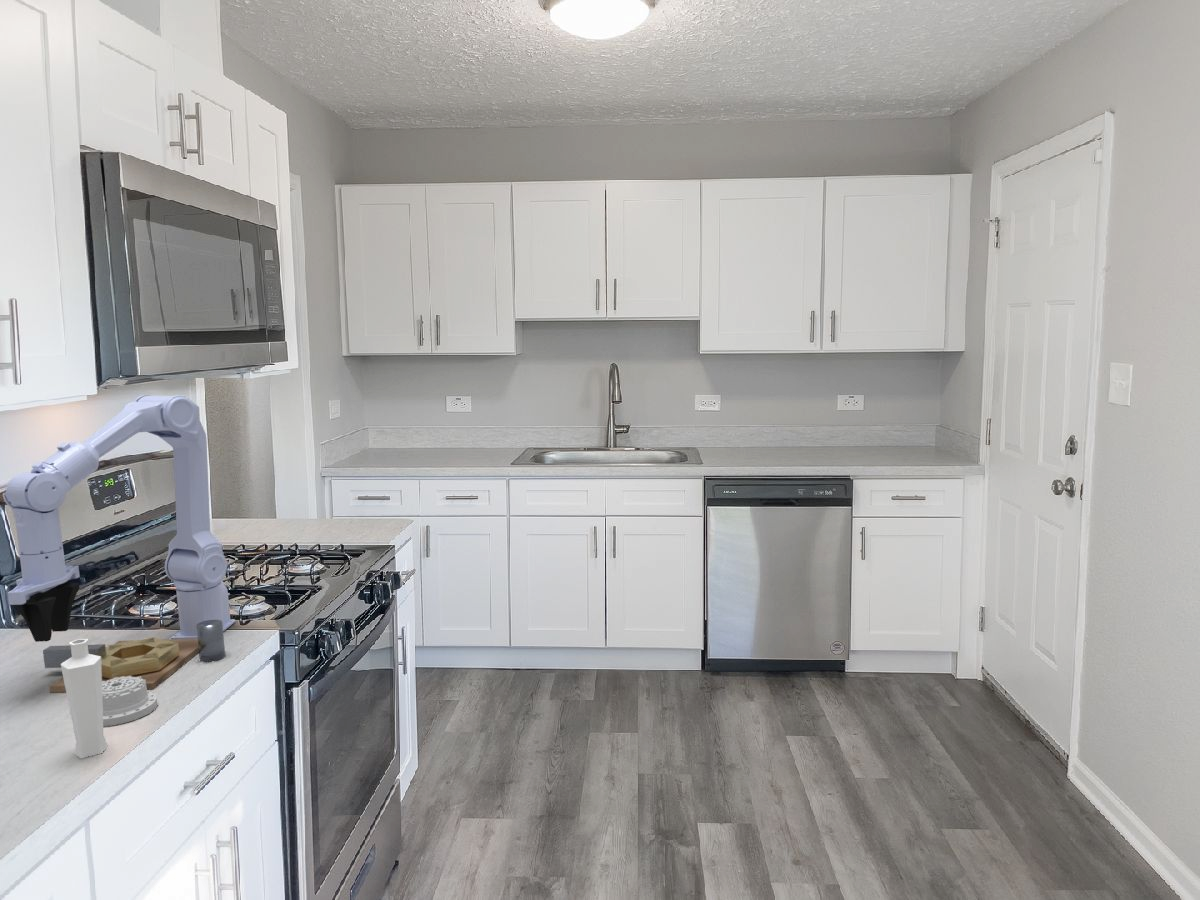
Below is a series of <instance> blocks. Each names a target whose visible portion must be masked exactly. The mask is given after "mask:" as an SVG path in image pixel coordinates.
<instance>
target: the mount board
mask: <svg viewBox="0 0 1200 900" xmlns="http://www.w3.org/2000/svg"><path fill="white" fill-rule="evenodd" d="M163 640H167V641H171V642H176V643H178V645H179V655H178V656H177V657H176V658H175V659H173V660H172V661H171V662H169V663H168V664H167V665H166V666H164V667H163V668H162V669H160V670H157V671H152V672H147V673H142V674H137V675H132V676H131V677H140V676H141V679H143V680H146V686H147V691H149V690H155V688H157V687H159V686H160V685H161V684H162V683H163V682H164V681H166V680H167V679H168V678H170V677H171V676H172V675H173V674H174V673H175V671H176V672H177V671H178V670H179V669H181V668H182V667H183V666H185V665H186V664H187V663H188V662H190V660H192V659H193V658H194V657H195V656H196V654H197V653H198V652H199V648H198V639H171V638H168V639H164V638H163ZM130 641H135V639H133V640H118V641H116V642H114V644H118V643H124V642H130ZM198 654H199V653H198ZM198 654H197V655H198ZM191 658H192V659H191ZM165 679H166V680H165ZM107 680H110V679H109V678H105V677H102V681H107ZM159 684H160V685H159ZM49 693H66V688H65V684H64V679H63V677H61V678H60V679H59V680H57V681H55V682H54V683H52V684H51V685H49Z"/></svg>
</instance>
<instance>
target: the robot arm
mask: <svg viewBox="0 0 1200 900" xmlns="http://www.w3.org/2000/svg"><path fill="white" fill-rule="evenodd" d="M138 433H149V434H152V435H154V436H157V437H159V438H160V439H162V440H163V441H164V442H165V443H167V444H168V445H169V446H170V447H172V450H173V475H174V494H175V495H174V498H175V516H176V517H175V519H176V521H175V522H176V535H175V536H174V537H173V538H172V539H171V540H170V542H168V553H167V556H166V559H165V562H164V572H165V574H166V576H167V577H168V579H169V580H171V581H173V587H175V590H176V600H177V601H176V602H177V609H178V612H177V613H178V622H179V628H180V629H179V631H177V632H176V633H174V635H172V636H171V637H170V639H198V638H197V627H196V625H197V624H198V623H200V622H203V621H208V620H221V621H222V624H223V632H224V631H226V630H227V629H228V628H230V627H231V626H232V625H233V624H234V623H236V619H235V618H232V619H231V614H230V613H231V612H230V603H229V602H230V601H229V592H228V588H227V585H226V584H225V583H224V582H223V579H224V578H225V577H226V575H227V571H228V562H227V559H226V556H225V555H224V552H223V544H222V542H221V541H220V540H219V539H218V538H217V537H216V536H215V535H214V534H213V533H212V532H211V521H210V519H211V518H210V516H211V515H210V494H209V492H210V491H209V470H208V469H209V468H208V467H209V466H208V441H207V433H206V431H205V429H204V426H203V425H202V422H201V418H200V406H199V405H198V404H196V403H195V402H194V401H193V400H191V399H190V398H189V397H187V396H186V395H182V394H181V395H180V394H177V395H151V394H142V395H140V396H137V397H136V398H135V399H134V400H133V401H131V402H129V403H127V404H125V406H124V408H123V409H122V410H121V411H120V412H119V413H118V414H116V415H115V416H114V417H113V418H112V419H110V420H109V421H108V422H107V423H105V424H104V425H103V426H102V427H101V428H99V429H98V430H97V431H95V432H94V433H93V434H92V435H91V436H89V437H88V438H87V439H86V440H84V441H83V442H80V441H70V442H62V443H61V444H59V445H58V446H57V447H56V449H57V451H55V452H54V453H53V454H52V455H50V456H49V457H47V458H45V460H43V461H42V462H36V463H35V464H33V465H32V466H31V468H32V469H31V471H30V472H21V473H17V474H16V475H14V476H13V477H12V478H11V479H10V480H9V481H8V483H7V485H6V488H5V492H3V493H2V497H3V498H2V499H3V501H4V502H5V504H6V505H7V506H8V507H9V508H11V510H12V513H13V518H14V521H15V530H16V537H17V546H18V547H17V548H18V553H19V560H20V562H19V563H20V569H21V578H18V579H16V580H15V583H16V586H15V587H14V588H12V590H10V591H8V592H7V598H8V605H10V606H11V605H12V607H13V608H14V609H16V611H18V613H19V614H20V616H22V618H23V620H24V622H26V625H27V627H28V630H29V631H30V633H31V636H32V638H33V640H34V642H38V643H39V642H49V641H50V640H52V634H53V633H54V632H67V631H68V630H69V626H70V621H71V620H70V619H71V613H72V609H73V604H74V601H75V599H76V596H77V594H78V591H79V590H80V583H79V582H70V580H75V579H78V578H80V577H81V576H80V575H81V574H80V568H79V565H66V562H65V561H66V560H65V552H64V545H63V543H64V542H63V536H62V529H61V528H62V527H61V518H60V511H59V508H60V507H61V506H62V505H63V503H64V502H65V500H66V496H67V493H68V492H69V491H71V490H72V489H73V488H74V487H76V486H77V485H78V484H80V483H81V482H82V481H83V480H85V479H86V478H87V477H89V476H91V475H92V474H93V473H95V472H96V471H97V470H98V468H99V464H100V461H99V460H100V458H101V457H103V456H105V455H106V454H108V453H109V452H111V451H112V450H114V449H115V448H116V447H118V446H120V445H122V444H123V443H125V442H126V441H127V440H129V439H131V438H132V437H134V436H136V435H137V434H138Z"/></svg>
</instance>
